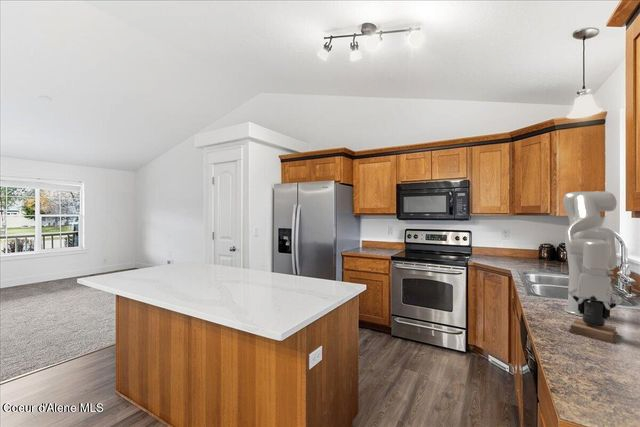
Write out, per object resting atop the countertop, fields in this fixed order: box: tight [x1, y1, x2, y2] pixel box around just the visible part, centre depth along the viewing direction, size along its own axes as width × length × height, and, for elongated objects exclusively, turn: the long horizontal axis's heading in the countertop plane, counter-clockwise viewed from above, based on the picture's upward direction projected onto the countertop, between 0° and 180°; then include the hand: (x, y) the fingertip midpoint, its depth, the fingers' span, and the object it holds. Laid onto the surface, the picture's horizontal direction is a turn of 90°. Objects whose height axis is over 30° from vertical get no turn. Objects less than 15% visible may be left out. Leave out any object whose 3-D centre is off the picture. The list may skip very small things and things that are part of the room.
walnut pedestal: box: [568, 317, 618, 344], centre depth 121 cm, size 13×13×3 cm
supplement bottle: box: [581, 296, 606, 326], centre depth 121 cm, size 7×7×12 cm
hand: (593, 315), depth 121 cm, fingers closed on supplement bottle, 6 cm apart
